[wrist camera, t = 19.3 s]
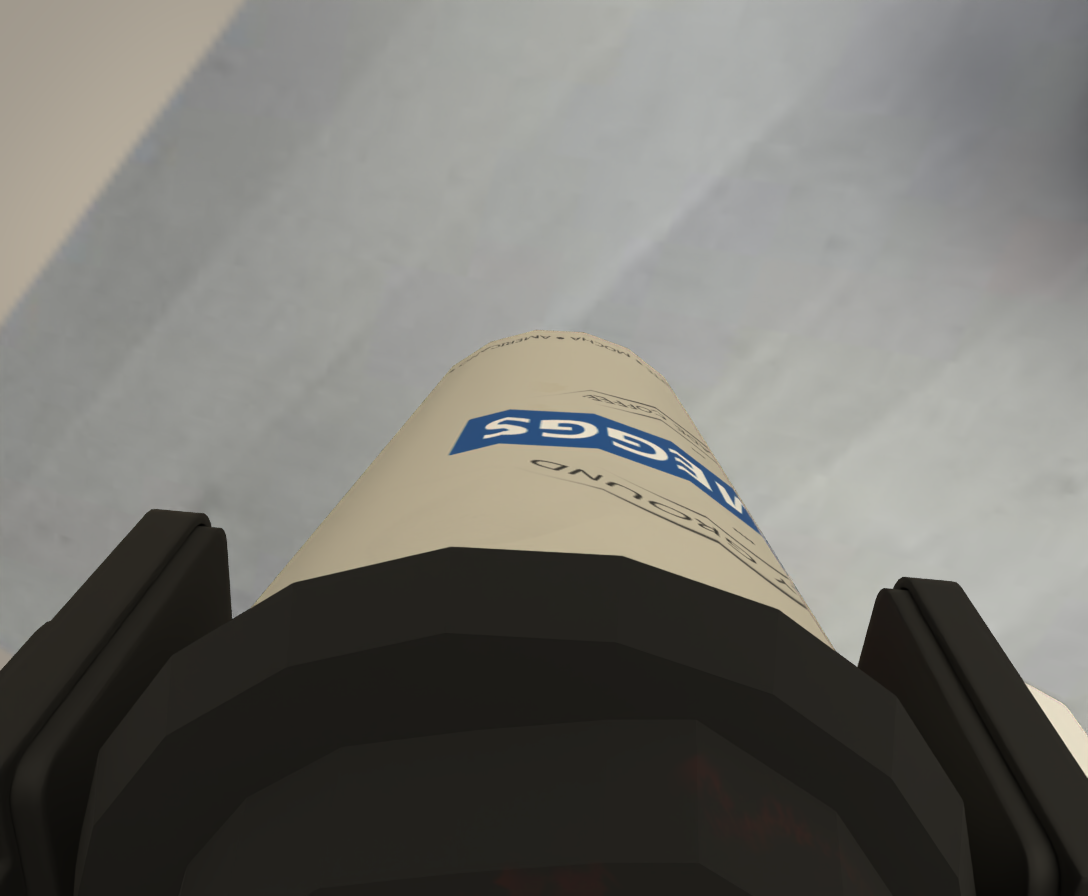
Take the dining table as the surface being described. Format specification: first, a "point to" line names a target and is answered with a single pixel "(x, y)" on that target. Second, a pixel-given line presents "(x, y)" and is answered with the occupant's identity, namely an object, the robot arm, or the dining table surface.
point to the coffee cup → (526, 683)
